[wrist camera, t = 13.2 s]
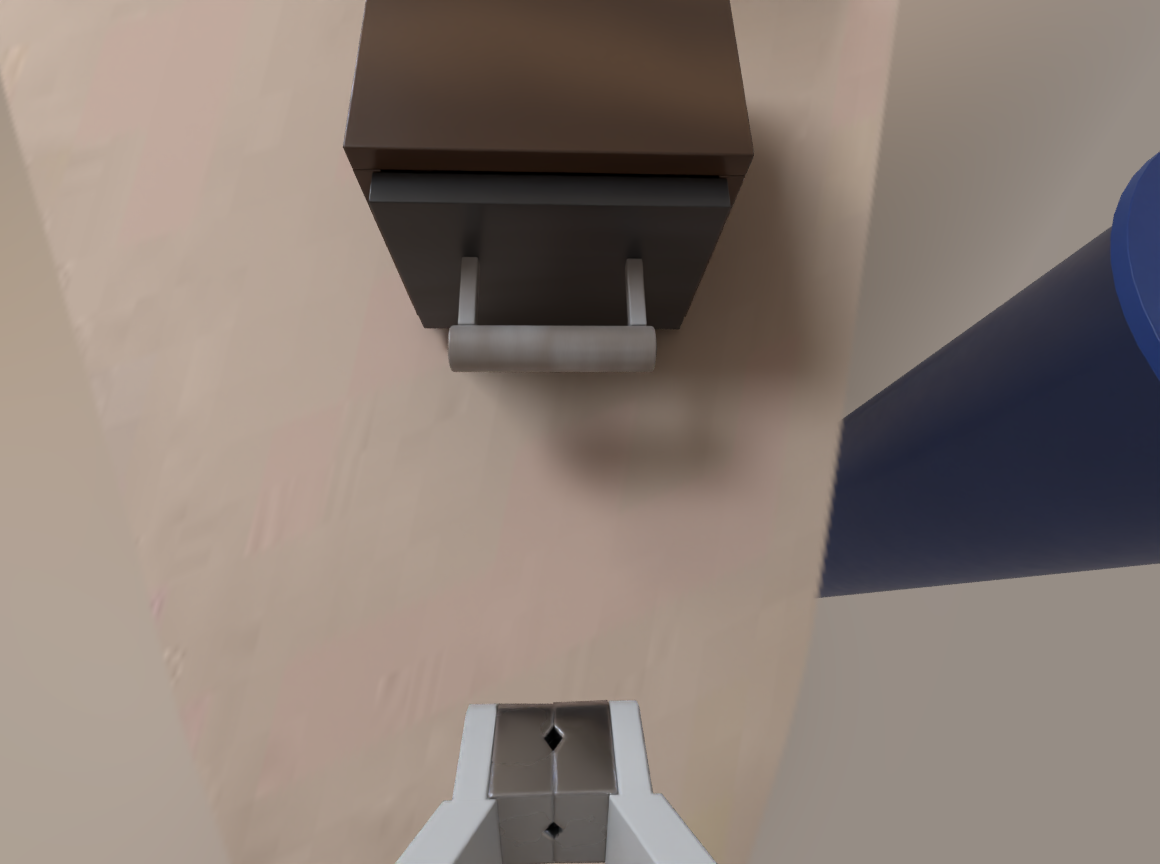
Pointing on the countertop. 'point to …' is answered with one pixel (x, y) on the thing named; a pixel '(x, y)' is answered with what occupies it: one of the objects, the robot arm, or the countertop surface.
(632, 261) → the drawer
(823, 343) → the countertop surface
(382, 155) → the cabinet
